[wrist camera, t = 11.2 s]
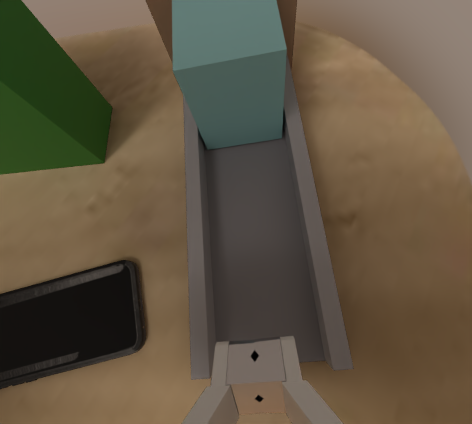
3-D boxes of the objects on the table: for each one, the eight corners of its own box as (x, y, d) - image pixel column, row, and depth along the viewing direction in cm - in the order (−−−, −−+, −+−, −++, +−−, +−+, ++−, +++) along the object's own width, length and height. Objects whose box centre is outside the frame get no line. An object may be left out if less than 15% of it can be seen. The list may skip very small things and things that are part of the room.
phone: (-19, 299, 24) (132, 257, 23) (-6, 299, 25) (139, 258, 24) (-28, 397, 21) (143, 352, 20) (-13, 392, 22) (149, 350, 21)
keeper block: (207, 149, 24) (172, 71, 16) (204, 91, 26) (171, -5, 18) (281, 138, 24) (286, 49, 15) (271, 79, 26) (270, -27, 17)
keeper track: (200, 364, 20) (117, 443, 9) (189, 74, 30) (142, -52, 19) (344, 354, 19) (437, 430, 8) (283, 56, 29) (289, -88, 18)
